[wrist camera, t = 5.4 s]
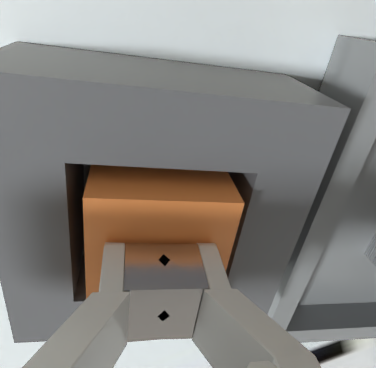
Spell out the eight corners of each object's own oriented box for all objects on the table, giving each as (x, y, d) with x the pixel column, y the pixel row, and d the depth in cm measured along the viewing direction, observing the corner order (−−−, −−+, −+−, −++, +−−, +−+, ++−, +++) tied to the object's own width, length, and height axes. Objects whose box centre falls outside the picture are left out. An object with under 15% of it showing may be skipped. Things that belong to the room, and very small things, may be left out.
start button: (218, 153, 11) (244, 203, 8) (199, 243, 13) (216, 306, 10) (95, 145, 10) (82, 198, 7) (96, 242, 12) (86, 310, 9)
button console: (285, 74, 11) (351, 108, 8) (233, 258, 16) (261, 330, 12) (16, 41, 10) (-49, 67, 6) (43, 258, 14) (14, 342, 11)
